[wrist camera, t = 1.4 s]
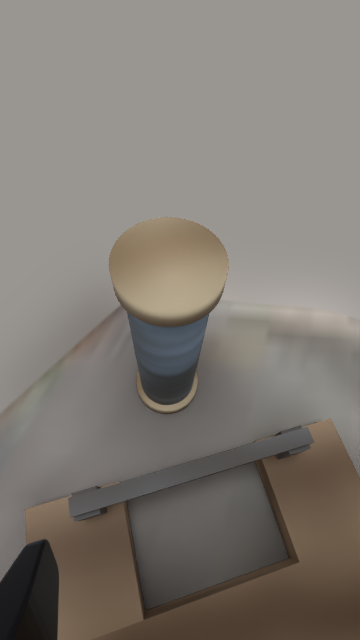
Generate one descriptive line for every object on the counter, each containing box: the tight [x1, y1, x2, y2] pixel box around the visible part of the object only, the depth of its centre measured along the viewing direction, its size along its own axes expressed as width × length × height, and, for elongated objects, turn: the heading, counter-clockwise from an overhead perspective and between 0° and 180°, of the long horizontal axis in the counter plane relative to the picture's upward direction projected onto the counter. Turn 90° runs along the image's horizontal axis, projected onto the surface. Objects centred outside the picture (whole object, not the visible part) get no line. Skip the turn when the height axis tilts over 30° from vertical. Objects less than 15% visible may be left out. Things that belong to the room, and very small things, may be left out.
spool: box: [109, 217, 229, 414], centre depth 17 cm, size 4×4×13 cm
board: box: [25, 419, 360, 640], centre depth 16 cm, size 10×18×4 cm, turn 106°
